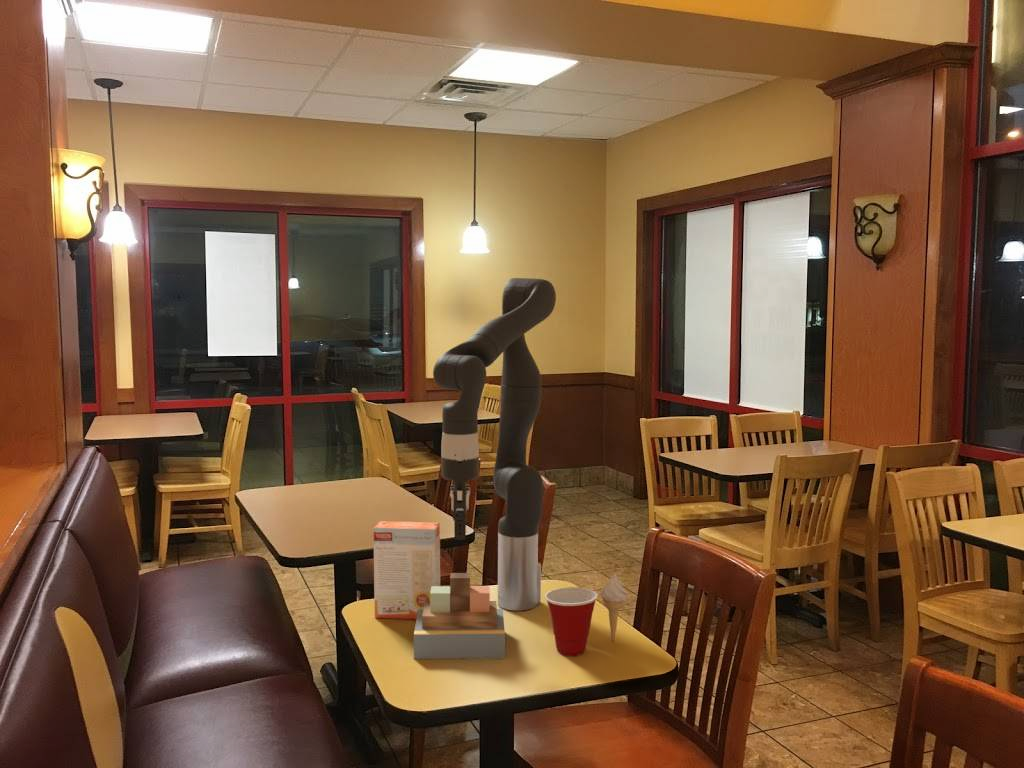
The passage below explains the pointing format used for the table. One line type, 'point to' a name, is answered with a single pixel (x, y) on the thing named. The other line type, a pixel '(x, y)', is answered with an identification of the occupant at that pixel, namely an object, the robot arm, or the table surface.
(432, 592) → the pale green cube
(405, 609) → the cracker box
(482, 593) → the block
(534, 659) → the table surface
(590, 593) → the plastic cup
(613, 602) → the ice cream cone
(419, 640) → the dock
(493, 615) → the pallet
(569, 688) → the table surface
